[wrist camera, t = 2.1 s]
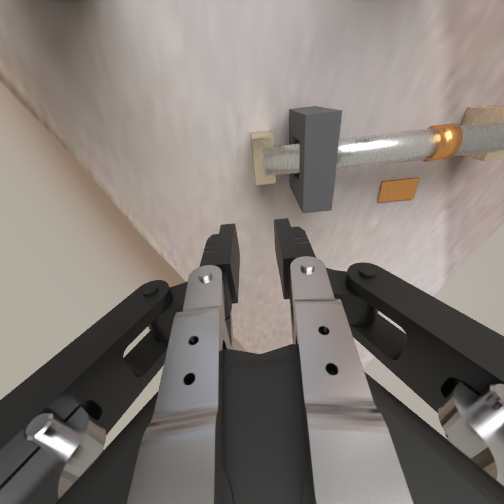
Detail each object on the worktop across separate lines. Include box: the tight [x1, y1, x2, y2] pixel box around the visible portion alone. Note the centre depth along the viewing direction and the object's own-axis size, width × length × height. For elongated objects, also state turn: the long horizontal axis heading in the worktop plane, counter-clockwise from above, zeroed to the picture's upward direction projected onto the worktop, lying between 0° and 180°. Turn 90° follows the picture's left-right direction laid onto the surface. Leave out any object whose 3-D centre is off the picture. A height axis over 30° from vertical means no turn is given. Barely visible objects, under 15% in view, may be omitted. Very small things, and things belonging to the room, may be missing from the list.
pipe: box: [251, 105, 504, 202], centre depth 28 cm, size 28×11×7 cm, turn 96°
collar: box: [289, 106, 342, 213], centre depth 25 cm, size 3×9×9 cm, turn 6°
